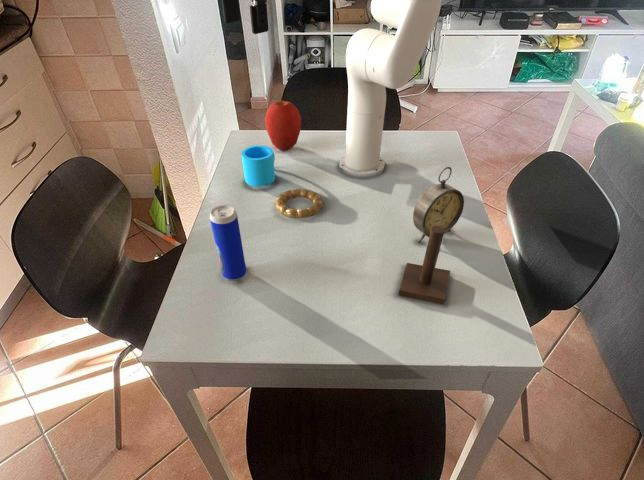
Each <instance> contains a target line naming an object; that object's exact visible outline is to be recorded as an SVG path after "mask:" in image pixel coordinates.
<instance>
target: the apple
mask: <svg viewBox="0 0 644 480" xmlns="http://www.w3.org/2000/svg"><path fill="white" fill-rule="evenodd" d="M264 123H265V129H266V133H267V135H268V137H269V139H270V141H271V144H272V145H273V147H275V148H276V149H277V150H278V151H281V152H288V151H289V150H291V149H292V148H293V147H294V146H296V145H297V143H298V139H299V136H300V134H301V129H302V128H301V127H302V117H301V114H300V111H299V109H298V108H297V107H296V106H295V105H294V103H292V102H290V101H287V100H283V97H281V100H278V101H275V102H272V103H271V104H270V105H269V107H268V109H267V110H266V113H265V117H264Z"/></svg>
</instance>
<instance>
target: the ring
mask: <svg viewBox="0 0 644 480" xmlns="http://www.w3.org/2000/svg"><path fill="white" fill-rule="evenodd" d="M293 198H306V199H308V200H310V201H311V202H312V205H311V206H308V207H307V208H301V209H296V208H289V207H288V206H286V203H287V202H288V200H291V199H293ZM274 205H275V210H276V212H278V213H279V214H281V215H282V216H284V217H289V218H294V219H301V218H309V217H312V216H314V215H316V214H318V213H319V212H321V210H322V208H323V206H324V201H323V199H322V197H321V195H320V194H318V193H317V192H315V191H313V190H311V189H304V188H296V189H295V188H294V189H289V190H287V191H284V192H282V193H280V194H279V195H278V197H277V198H276V199H275V201H274Z"/></svg>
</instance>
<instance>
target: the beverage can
mask: <svg viewBox="0 0 644 480" xmlns="http://www.w3.org/2000/svg"><path fill="white" fill-rule="evenodd" d="M209 221H210V225H211V229H212V230H211V231H212V235H213V239H214V244H215V248H216V253H217V257H218V261H219V266H220V270H221V275H222V276H223V278H225V279H226V280H228V281H233V282H234V281H239V280H241V279H242V278H244V277H245V275H246V273H247V266H246V260H245V255H244V254H245V253H244V249H243V241H242V236H241V229H240V222H239V216H238V213H237V211H236V208H234V207H233V206H232V205H228V204H221V205H220V204H219V205H217V206H214V207H213V208H211V210H210V212H209Z"/></svg>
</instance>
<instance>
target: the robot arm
mask: <svg viewBox="0 0 644 480" xmlns="http://www.w3.org/2000/svg"><path fill="white" fill-rule="evenodd" d="M250 3H251V5H249V15H250V23H251V26H250V27H251V32H252V34H254V35H258V34H262V33H267V32H268V31H269V29H270V28H269V18H268V17H269V15H268V6H267V5H268V4H269V0H250ZM221 5H222V14H223V21H224V23H225V24H230V23H235V22H239V21H240V20H241V15H240V5H239V0H221ZM441 7H442V0H371V2H370V12H371V16H372V17H373V19H374V20H375V21H376V22H378V23H379V24H381V25H384V26H386V27H390V28H393V29H396V33H395V34H391V33H389V32H386V31H382V30H379V29H376V28H369V27H367V28H362V29H359V30H358V31H356V32H355V33H354V34H352V36H351V37H350V38H349V41H348V43H347V46H346V51H345V52H346V53H345V66H346V74H347V85H348V88H347V90H348V91H347V92H348V93H347V109H346V110H347V112H346V113H347V114H346V133H345V151H344V153H345V154H344V156H342V157H341V159H340V160H339V162H338V163H339V164H338V167H339V168H341V169H342V170H344V171H345V172H348V173H351V174H356V175H369V174H374V173H378V174H381V173H382V172H383V171H384V169H385V165H386V163H385V161H384V159H383V158H381V151H382V150H381V149H382V142H383V141H382V140H383V133H384V132H383V131H384V124H385V113H386V108H387V107H386V105H387V90H386V88H387V89H392V90H399V89H402V88H403V87H405V86H406V85H407V84H408V83H409V82H410V80H411V78H412V77H413V75H414V73H415V71H416V69H417V67H418V65H419V62H420V60H421V58H422V56H423V54H424V51H425V49H426V47H427V45H428V44H429V43H428V42H429V40H430V38H431V36H432V33H433V31H434V29H435V28H436V27H435V26H436V24H437V21H438V19H439V16H440V12H441Z"/></svg>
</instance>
